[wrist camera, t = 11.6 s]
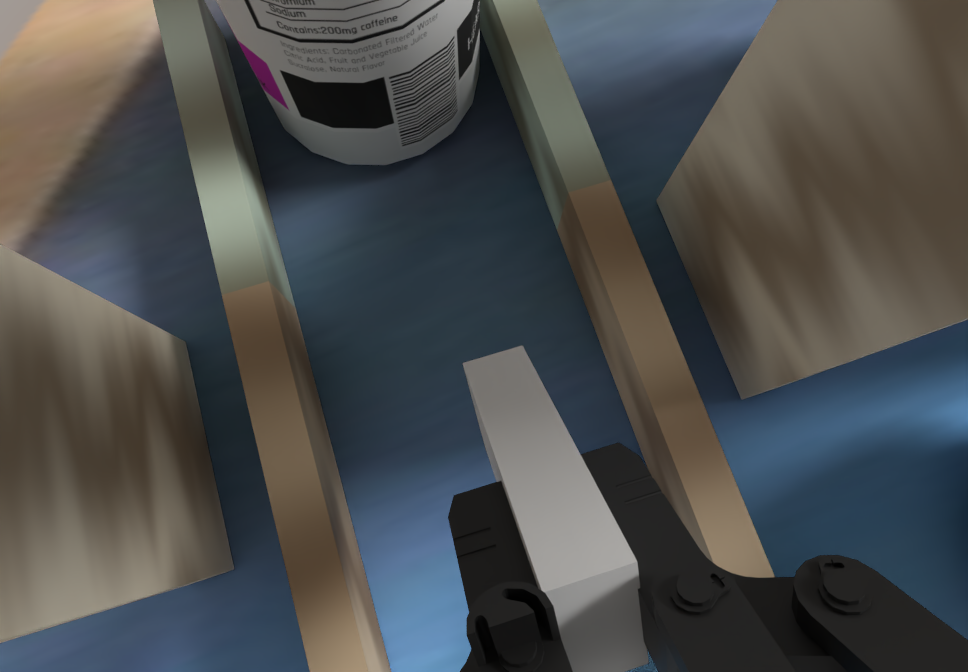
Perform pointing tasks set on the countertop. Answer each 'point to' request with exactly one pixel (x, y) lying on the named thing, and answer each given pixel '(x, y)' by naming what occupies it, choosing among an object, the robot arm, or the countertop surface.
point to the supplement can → (363, 71)
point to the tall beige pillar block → (694, 229)
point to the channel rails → (284, 359)
